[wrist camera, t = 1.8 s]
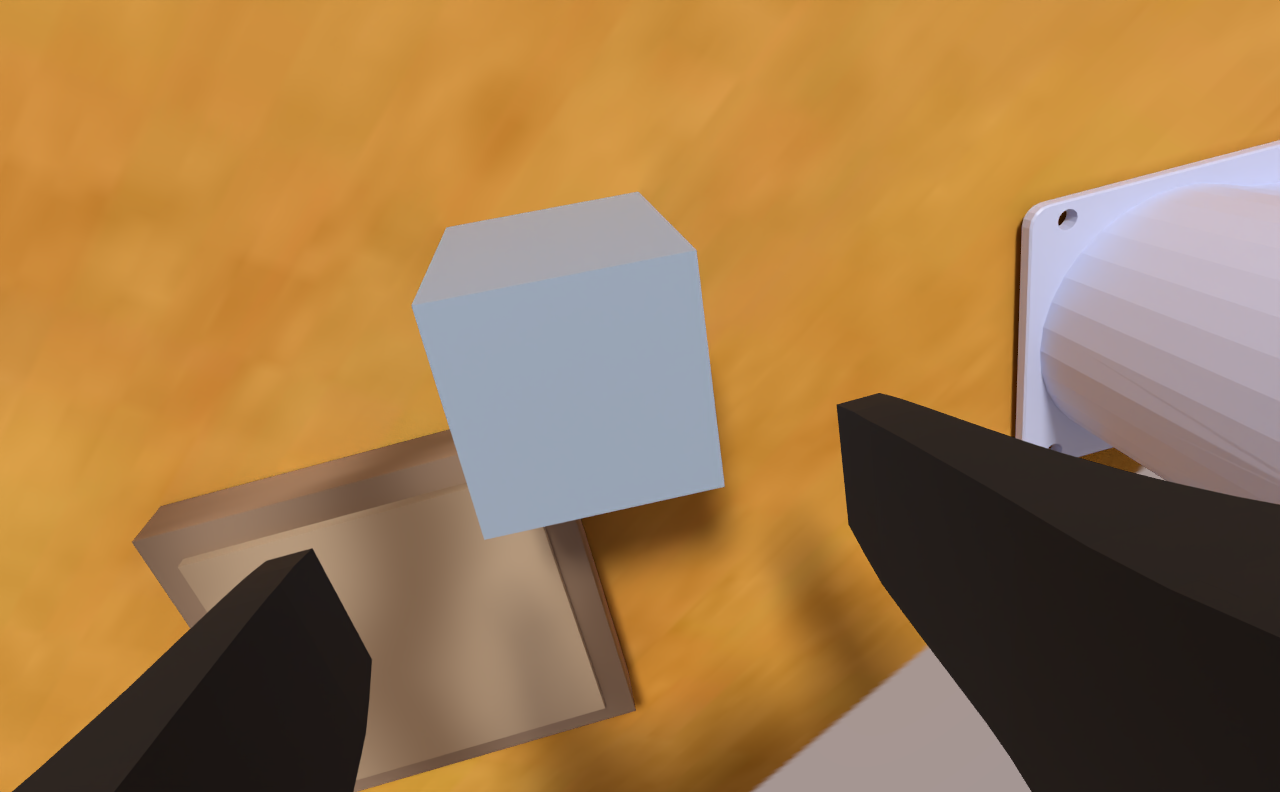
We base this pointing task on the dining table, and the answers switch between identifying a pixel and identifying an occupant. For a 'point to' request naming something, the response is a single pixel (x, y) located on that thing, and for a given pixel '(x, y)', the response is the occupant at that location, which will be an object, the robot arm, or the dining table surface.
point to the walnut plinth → (417, 599)
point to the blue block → (571, 362)
